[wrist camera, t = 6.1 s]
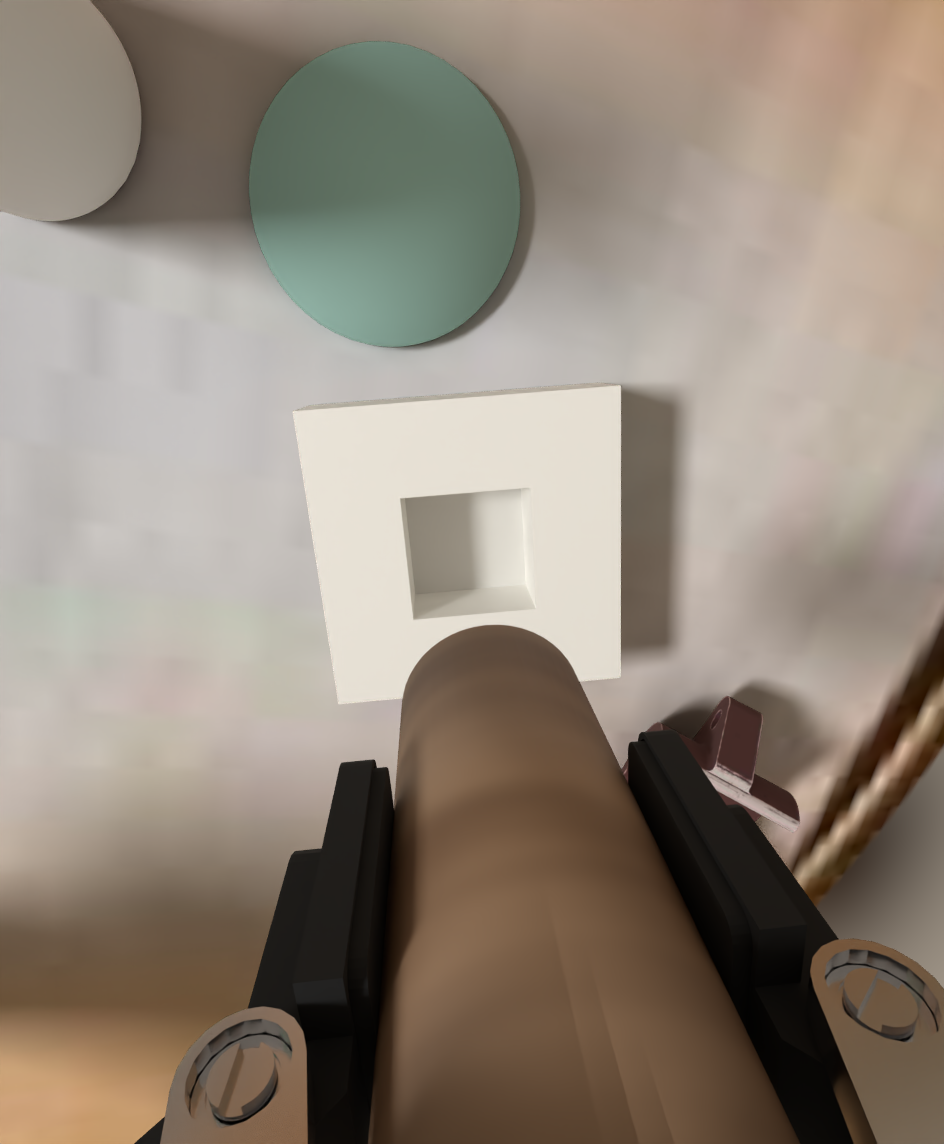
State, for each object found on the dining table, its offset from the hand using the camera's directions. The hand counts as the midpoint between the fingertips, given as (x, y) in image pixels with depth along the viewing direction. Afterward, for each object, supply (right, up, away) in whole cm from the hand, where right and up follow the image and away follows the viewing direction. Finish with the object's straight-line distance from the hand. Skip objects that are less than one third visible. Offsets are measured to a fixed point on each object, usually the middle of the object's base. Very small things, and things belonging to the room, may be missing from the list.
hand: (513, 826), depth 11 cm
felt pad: (-4, +18, +14) cm, 23 cm away
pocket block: (-1, +6, +18) cm, 19 cm away
